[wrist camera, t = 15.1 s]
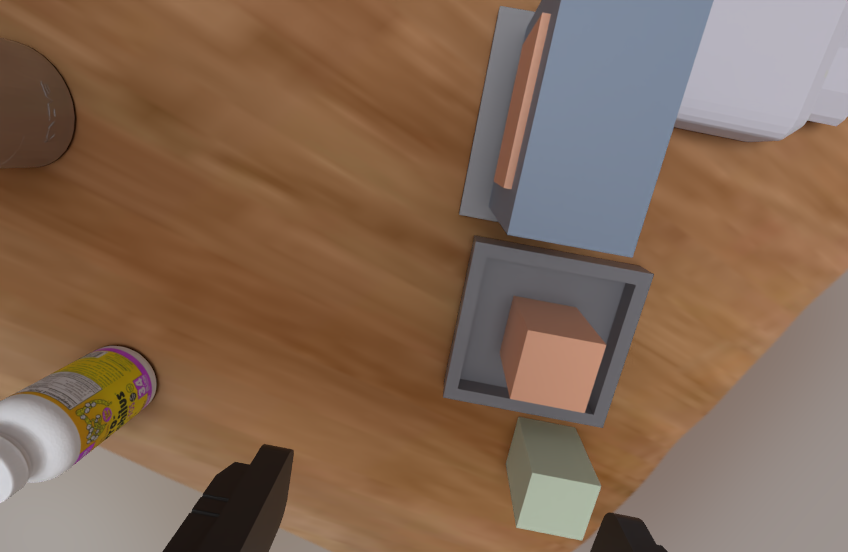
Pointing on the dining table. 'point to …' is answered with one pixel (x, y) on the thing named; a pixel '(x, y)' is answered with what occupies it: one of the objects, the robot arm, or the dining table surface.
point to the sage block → (551, 479)
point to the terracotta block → (550, 354)
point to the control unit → (580, 117)
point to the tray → (551, 282)
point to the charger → (768, 69)
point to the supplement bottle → (70, 414)
